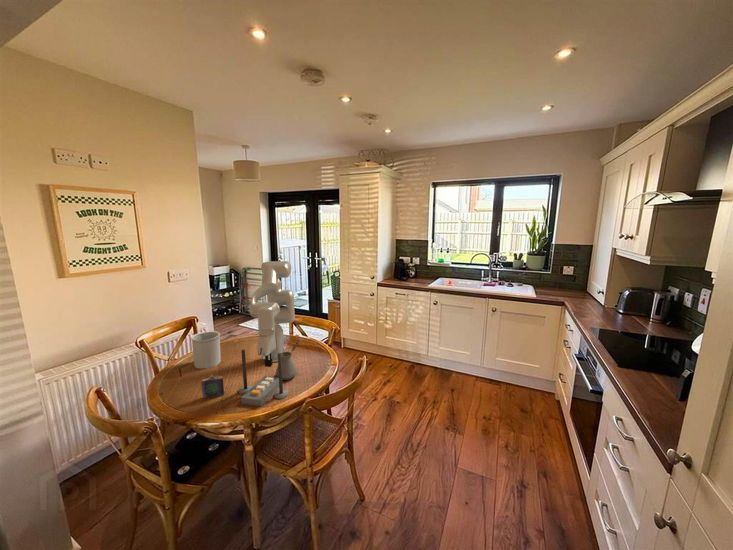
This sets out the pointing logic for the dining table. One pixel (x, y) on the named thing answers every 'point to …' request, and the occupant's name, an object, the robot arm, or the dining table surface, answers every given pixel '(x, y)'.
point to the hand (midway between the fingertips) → (268, 366)
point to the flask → (212, 387)
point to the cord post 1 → (244, 376)
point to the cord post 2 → (280, 382)
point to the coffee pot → (287, 365)
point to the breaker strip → (261, 391)
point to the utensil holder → (206, 349)
